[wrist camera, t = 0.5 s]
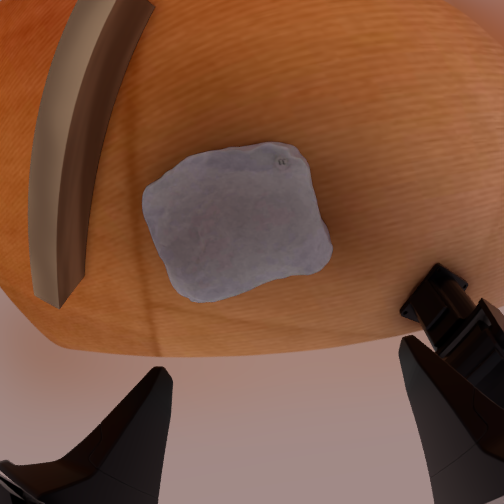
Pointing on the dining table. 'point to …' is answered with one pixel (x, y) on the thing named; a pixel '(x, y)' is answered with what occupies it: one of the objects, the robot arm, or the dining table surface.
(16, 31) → the dining table surface
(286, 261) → the stone block
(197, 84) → the dining table surface
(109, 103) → the board
